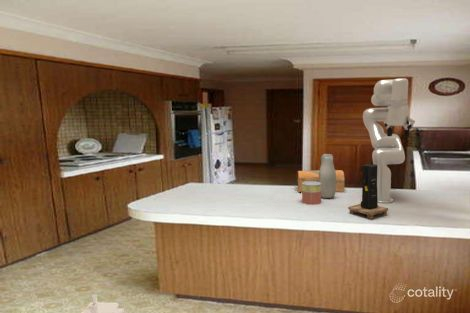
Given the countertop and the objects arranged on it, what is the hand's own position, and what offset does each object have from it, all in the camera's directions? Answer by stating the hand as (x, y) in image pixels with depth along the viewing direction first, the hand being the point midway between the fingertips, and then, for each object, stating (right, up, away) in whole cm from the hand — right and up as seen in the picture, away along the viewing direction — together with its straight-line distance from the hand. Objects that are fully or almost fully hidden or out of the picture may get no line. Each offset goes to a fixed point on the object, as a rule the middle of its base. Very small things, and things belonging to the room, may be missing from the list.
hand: (397, 136), depth 172 cm
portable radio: (-14, -37, +2) cm, 40 cm away
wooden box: (-25, -34, +58) cm, 72 cm away
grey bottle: (-26, -37, +37) cm, 58 cm away
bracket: (-154, -117, -6) cm, 194 cm away
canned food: (-38, -38, +28) cm, 61 cm away
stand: (-14, -41, +3) cm, 43 cm away
